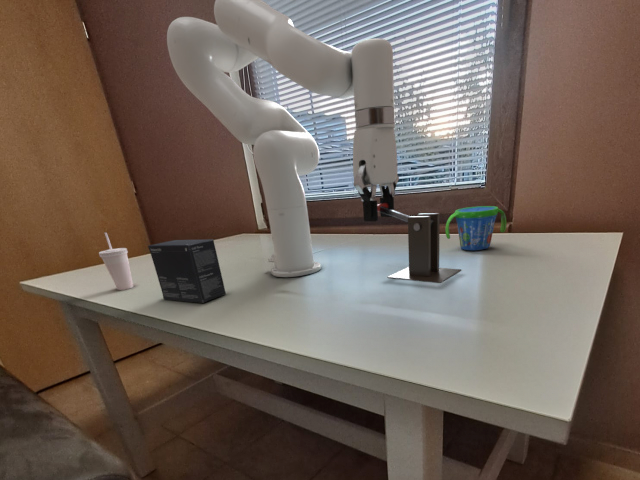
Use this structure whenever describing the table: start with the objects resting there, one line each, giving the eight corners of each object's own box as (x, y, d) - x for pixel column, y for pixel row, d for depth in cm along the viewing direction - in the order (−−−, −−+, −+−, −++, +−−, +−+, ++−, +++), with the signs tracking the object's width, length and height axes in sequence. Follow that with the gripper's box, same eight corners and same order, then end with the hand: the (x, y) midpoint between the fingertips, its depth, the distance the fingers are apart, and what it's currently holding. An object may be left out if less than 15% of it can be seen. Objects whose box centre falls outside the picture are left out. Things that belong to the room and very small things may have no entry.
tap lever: (367, 214, 79) (369, 202, 77) (381, 210, 83) (384, 199, 81) (421, 235, 73) (425, 223, 72) (434, 230, 77) (438, 218, 75)
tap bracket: (387, 282, 80) (384, 219, 74) (410, 270, 86) (409, 212, 81) (440, 288, 72) (441, 218, 67) (461, 275, 79) (463, 211, 74)
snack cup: (449, 254, 97) (450, 213, 93) (441, 247, 107) (441, 209, 103) (511, 249, 96) (515, 207, 92) (498, 242, 106) (500, 203, 101)
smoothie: (131, 283, 102) (113, 230, 96) (143, 285, 99) (125, 230, 93) (107, 290, 98) (86, 234, 92) (119, 292, 94) (98, 235, 88)
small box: (227, 294, 83) (214, 238, 78) (203, 304, 78) (188, 245, 73) (187, 290, 89) (173, 238, 84) (162, 299, 84) (146, 245, 79)
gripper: (382, 125, 81) (386, 213, 89) (331, 123, 69) (340, 225, 77) (413, 119, 77) (414, 213, 84) (365, 116, 65) (371, 225, 72)
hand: (379, 218), depth 80 cm, fingers closed on tap lever, 5 cm apart
